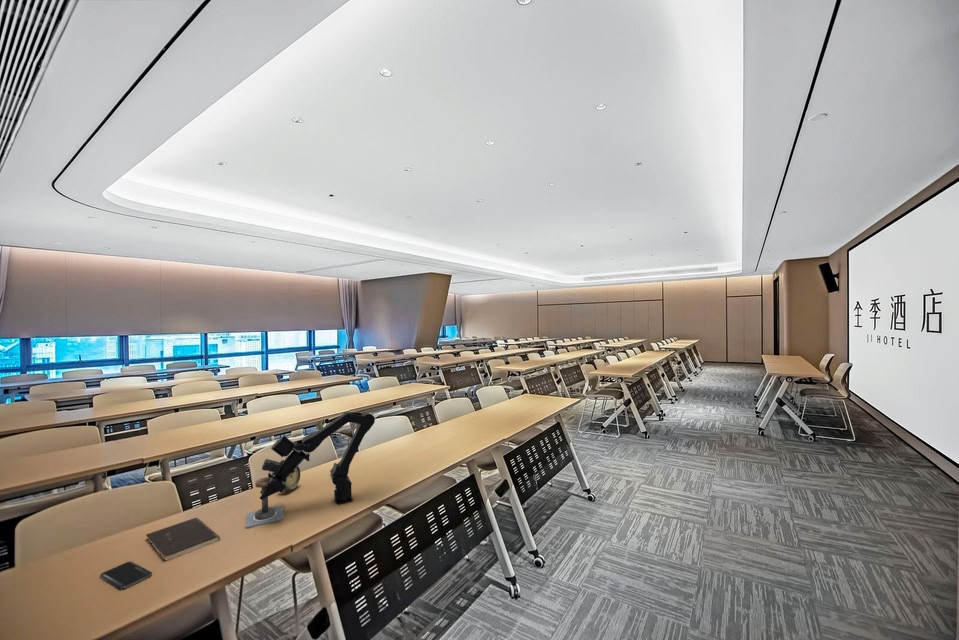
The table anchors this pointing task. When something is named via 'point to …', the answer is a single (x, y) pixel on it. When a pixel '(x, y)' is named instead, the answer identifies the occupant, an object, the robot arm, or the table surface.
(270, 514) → the stool
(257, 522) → the mat
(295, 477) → the alarm clock
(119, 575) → the phone
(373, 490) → the table surface
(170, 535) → the hardcover book
